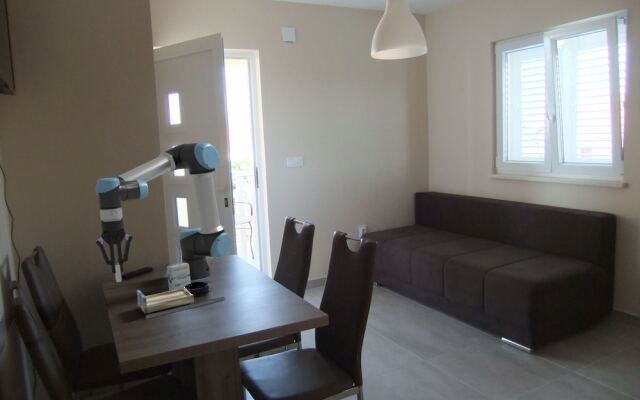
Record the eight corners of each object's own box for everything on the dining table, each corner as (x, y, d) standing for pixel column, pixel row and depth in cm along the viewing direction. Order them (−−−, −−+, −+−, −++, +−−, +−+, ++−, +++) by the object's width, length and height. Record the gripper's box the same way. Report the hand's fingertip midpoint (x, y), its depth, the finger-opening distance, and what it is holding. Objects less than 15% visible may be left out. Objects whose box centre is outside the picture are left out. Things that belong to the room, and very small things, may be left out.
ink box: (186, 286, 210) (184, 261, 208) (191, 289, 206) (189, 263, 205) (168, 292, 204) (166, 266, 202) (173, 294, 200) (171, 267, 199)
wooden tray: (138, 308, 185) (136, 290, 184) (185, 297, 195) (184, 280, 194) (145, 317, 175) (143, 298, 174) (194, 305, 185) (192, 287, 184)
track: (137, 306, 187) (137, 304, 187) (211, 290, 203) (210, 287, 203) (146, 318, 174) (146, 315, 173) (224, 300, 190) (224, 297, 190)
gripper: (93, 223, 165) (101, 287, 168) (132, 218, 172) (139, 279, 175) (91, 220, 171) (98, 282, 174) (128, 216, 178) (134, 275, 181)
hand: (118, 280), depth 174 cm, fingers closed
